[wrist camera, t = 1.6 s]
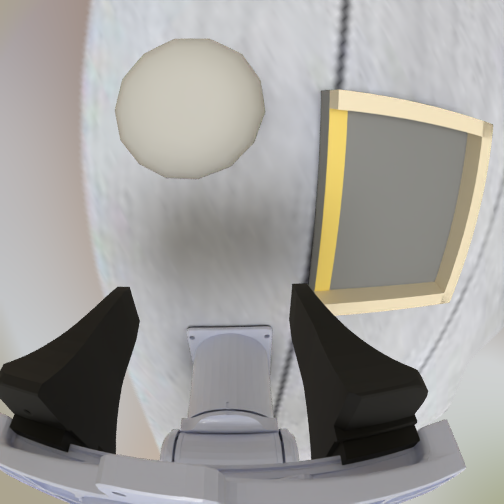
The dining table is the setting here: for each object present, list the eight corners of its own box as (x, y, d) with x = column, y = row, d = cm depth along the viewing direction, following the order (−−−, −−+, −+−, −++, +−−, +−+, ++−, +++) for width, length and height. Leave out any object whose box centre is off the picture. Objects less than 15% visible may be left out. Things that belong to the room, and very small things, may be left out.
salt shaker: (158, 95, 17) (48, 101, 6) (229, 47, 16) (213, -32, 5) (207, 160, 20) (164, 250, 9) (277, 115, 19) (337, 141, 7)
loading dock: (430, 279, 26) (449, 302, 23) (308, 288, 25) (317, 316, 22) (463, 117, 18) (493, 124, 15) (321, 90, 18) (338, 89, 14)
